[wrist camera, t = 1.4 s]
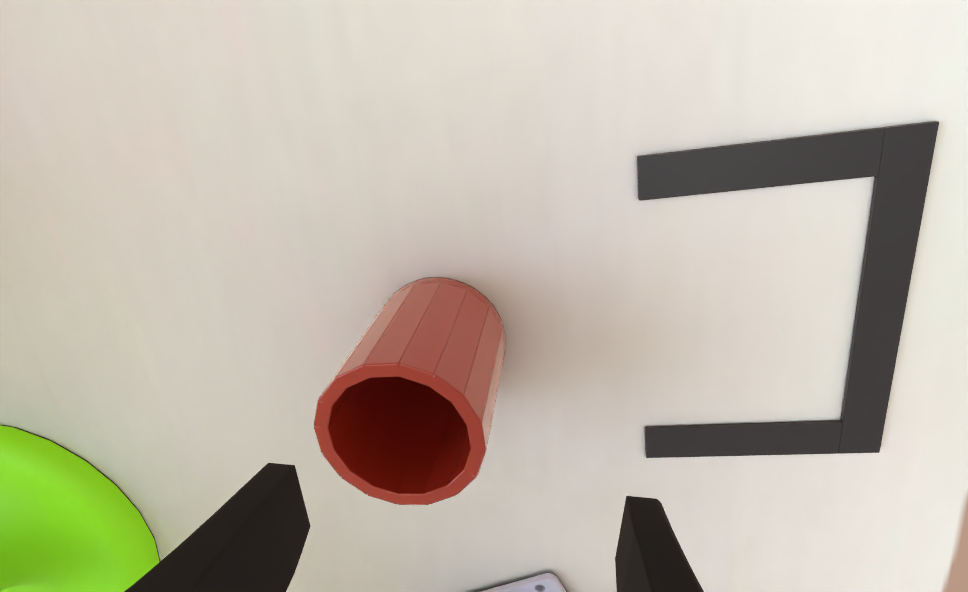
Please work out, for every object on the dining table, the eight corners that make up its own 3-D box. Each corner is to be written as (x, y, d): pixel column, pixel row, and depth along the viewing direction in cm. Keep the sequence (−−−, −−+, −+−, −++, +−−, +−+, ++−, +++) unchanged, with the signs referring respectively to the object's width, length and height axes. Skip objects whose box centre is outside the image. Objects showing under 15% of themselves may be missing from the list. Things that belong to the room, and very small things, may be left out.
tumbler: (422, 406, 25) (376, 523, 19) (355, 309, 24) (280, 402, 17) (528, 362, 24) (516, 475, 17) (464, 255, 22) (424, 336, 16)
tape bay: (645, 455, 25) (646, 457, 25) (637, 156, 20) (637, 156, 19) (877, 449, 23) (879, 452, 23) (935, 120, 18) (939, 121, 18)
